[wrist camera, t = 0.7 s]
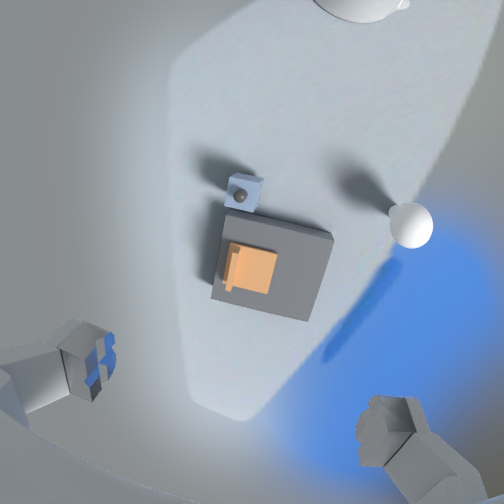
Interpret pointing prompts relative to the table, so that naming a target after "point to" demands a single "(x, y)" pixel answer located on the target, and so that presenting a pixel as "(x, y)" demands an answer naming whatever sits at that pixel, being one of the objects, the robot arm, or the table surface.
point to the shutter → (249, 268)
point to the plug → (243, 192)
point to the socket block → (276, 264)
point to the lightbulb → (410, 224)
